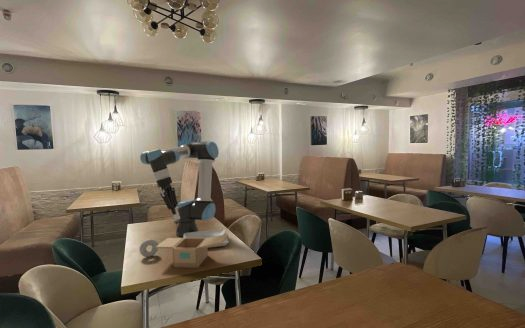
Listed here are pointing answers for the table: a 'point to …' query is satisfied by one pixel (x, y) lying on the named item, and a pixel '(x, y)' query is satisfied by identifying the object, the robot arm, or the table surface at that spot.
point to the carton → (186, 251)
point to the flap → (213, 241)
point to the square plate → (207, 235)
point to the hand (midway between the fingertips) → (177, 219)
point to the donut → (147, 243)
